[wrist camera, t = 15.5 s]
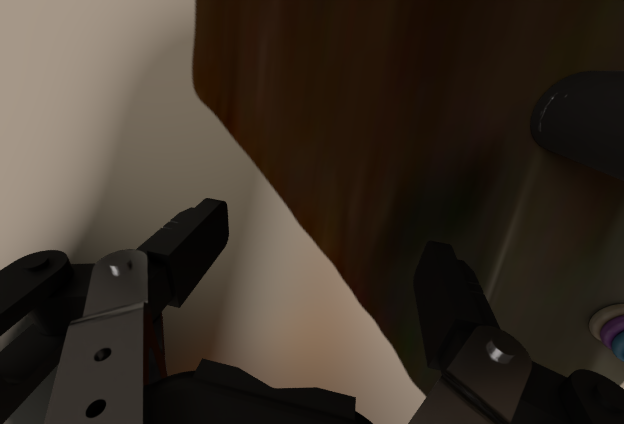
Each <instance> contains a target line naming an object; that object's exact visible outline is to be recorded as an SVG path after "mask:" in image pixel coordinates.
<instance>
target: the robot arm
mask: <svg viewBox="0 0 624 424" xmlns="http://www.w3.org/2000/svg"><path fill="white" fill-rule="evenodd" d="M530 127H531V132H532V135H533V137H534V139H535V141H536V142H537V143H538V144H539V145H540V146H542V147H543V148H545V149H547V150H550V151H552V152H555V153H557V154H559V155H562V156H564V157H566V158H569V159H571V160H574V161H576V162H579V163H581V164H583V165H586V166H588V167H591V168H593V169H596V170H598V171H601V172H603V173H605V174H608V175H610V176H613V177H615V178H618V179H620V180H623V181H624V71H586V72H580V73H577V74H573V75H570V76H568V77H566V78H564V79H562V80H560V81H559V82H558V83H556V84H555V85H553V86H552V87H551V88H550V89H549V90H548V91H547V92H546V93H545V94H544V95H543V96H542V97H541V99H540V100H539V101H538V103H537V105H536V107H535V109H534V111H533V114H532V117H531V126H530ZM228 237H229V227H228V210H227V204H226V202H225V201H220V200H215V199H210V198H206V199H204V200H203V201H202V202H201V203H200V204H198V205H197V206H196V207H195V208H189V209H187V210H185V211H183V212H180V213H179V214H177V215H176V216H175V217H174V218H173V219H171V221H170V222H168V223H167V224H165V225H164V226H163V228H161V229H160V230H158V231H157V232H156V233H155V234H154V235H153V236H151V237H150V238H149V239H148V240H147V241H145V242H144V243H143V244H142V245H141V246H140V247H138V248H137V249H136V250H135V249H127V250H120V251H117V252H114V253H111V254H109V255H107V256H105V257H103V258H101V259H100V260H99V261H98V262H97V263H96V264H71V263H70V261H69V259H68V257H67V255H66V254H65V253H64V252H62V251H57V250H47V251H40V252H36V253H33V254H29V255H27V256H24V257H22V258H20V259H18V260H16V261H14V262H13V263H11V264H10V265H8V266H7V267H5V268H3V269H2V270H0V336H1V335H2V334H4V333H5V332H6V331H7V330H9V329H10V328H11V327H12V326H13V325H15V324H16V323H17V322H18V321H20V320H21V319H22V318H23V317H24V316H26V315H27V314H28V315H29V317H30V319H31V320H32V322H33V324H32V325H31V326H30V327H28V328H27V329H26V330H25V331H24V332H23V333H21V335H19V336H18V337H17V338H16V339H15V340H13V341H12V342H11V343H10V344H9V345H8V346H6V347H5V348H4V349H3V350H2V351H1V352H0V424H3V423H4V422H5V420H7V419H8V418H9V417H10V415H11V414H12V413H13V412H14V411H15V410H16V409H17V408H18V407H19V406H20V405H21V404H22V403H23V401H24V400H25V399H26V398H27V397H28V396H29V395H30V394H31V393H32V392H33V391H34V390H35V389H36V387H37V386H38V385H39V384H40V383H41V382H42V381H43V380H44V379H45V378H46V377H47V376H48V375H49V373H50V372H51V371H52V370H53V369H54V368H55V367H56V366H57V365H58V364H59V366H58V370H57V374H56V378H55V382H54V386H53V390H52V394H51V398H50V402H49V406H48V410H47V414H46V418H45V422H44V424H373V423H372V422H371V421H369V420H368V419H367V418H365V417H364V416H362V415H361V414H359V413H358V412H356V411H355V403H356V397H352V396H348V395H344V394H340V393H336V392H332V391H328V390H325V389H320V388H315V387H314V388H282V389H281V388H279V389H277V388H272V387H270V386H268V385H267V384H265V383H263V382H262V381H260V380H258V379H257V378H255V377H253V376H251V375H250V374H248V373H246V372H245V371H243V370H241V369H240V368H238V367H233V366H230V365H226V364H222V363H218V362H214V361H210V360H206V359H202V360H201V362H200V364H199V366H198V367H197V369H196V371H188V372H182V373H178V374H174V375H171V376H168V374H167V369H166V361H165V345H164V330H163V316H162V311H163V309H164V308H165V307H166V306H167V305H170V306H174V307H178V308H180V307H181V305H182V304H183V303H184V301H185V300H186V299H187V297H188V296H189V295H190V293H191V292H192V291H193V289H194V288H195V287H196V285H197V284H198V283H199V281H200V280H201V279H202V277H203V276H204V274H205V273H206V272H207V270H208V269H209V268H210V266H211V265H212V264H213V262H214V261H215V260H216V258H217V257H218V255H219V254H220V253H221V252H222V250H223V249H224V248H225V246H226V244H227V241H228ZM413 287H414V293H415V298H416V304H417V309H418V315H419V321H420V326H421V332H422V338H423V343H424V349H425V354H426V360H427V366H428V368H432V369H437V370H441V374H442V376H441V377H440V379H439V380H438V382H437V383H436V384H435V386H434V387H433V389H432V390H431V392H430V393H429V395H428V396H427V397H426V399H425V400H424V402H423V403H422V405H421V406H420V408H419V409H418V410H417V412H416V413H415V415H414V416H413V417H412V419H411V420H410V422H409V423H408V424H624V389H623V388H621V387H620V386H619V385H617V384H616V383H615V382H613V381H611V380H610V379H608V378H606V377H605V376H603V375H601V374H598V373H596V372H593V371H590V370H584V369H580V370H576V371H574V372H573V373H572V374H571V375H570V376H569V377H568V378H567V377H565V376H563V375H561V374H558V373H556V372H554V371H552V370H550V369H548V368H546V367H544V366H541V365H539V364H537V363H535V362H533V361H532V360H531V358H530V356H529V354H528V352H527V351H526V349H525V348H524V347H523V345H522V344H521V343H520V342H519V341H518V340H516V339H515V338H514V337H513V336H511V335H510V334H508V333H507V332H505V331H503V330H501V329H500V327H499V325H498V323H497V320H496V318H495V316H494V314H493V312H492V310H491V307H490V305H489V303H488V301H487V299H486V297H485V295H483V290H482V288H481V286H480V285H479V282H478V279H477V277H476V275H475V273H474V271H473V270H472V269H471V268H470V267H469V266H468V265H467V264H466V263H465V262H464V261H462V260H457V258H456V255H455V253H454V250H453V248H452V246H451V245H450V244H445V243H439V242H434V241H428V242H427V244H426V246H425V248H424V251H423V253H422V256H421V258H420V261H419V263H418V265H417V268H416V271H415V274H414V280H413Z"/></svg>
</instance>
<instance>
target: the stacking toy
mask: <svg viewBox="0 0 624 424" xmlns="http://www.w3.org/2000/svg"><path fill="white" fill-rule="evenodd" d="M589 329H590V331H591V333H592V335H593V336H594V337H596V338H597V339H598V340H600V341H602V342H603V344H604V345H605V346H606V347H608V348H609V349H611V350H612V351H613V353H614V354H615V355H616V357H618V358H619V359H620V360H622V361H623V362H624V304H615V305H611V306H608V307H605V308H603V309H601V310H599V311H598V312H597V313H595V314H594V315H593V316H592V318H591V320H590V322H589Z"/></svg>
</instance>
